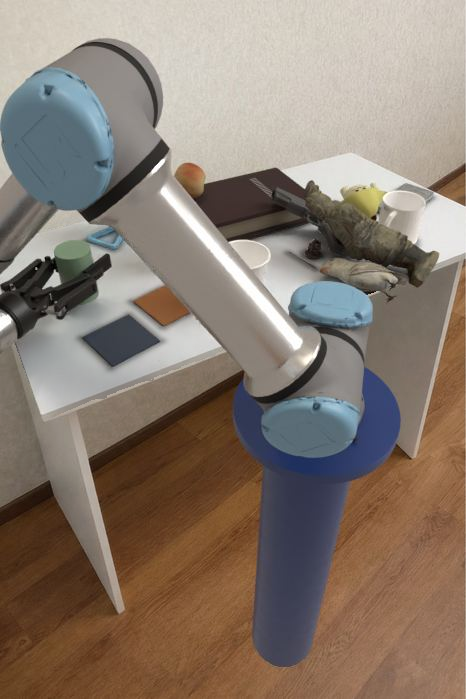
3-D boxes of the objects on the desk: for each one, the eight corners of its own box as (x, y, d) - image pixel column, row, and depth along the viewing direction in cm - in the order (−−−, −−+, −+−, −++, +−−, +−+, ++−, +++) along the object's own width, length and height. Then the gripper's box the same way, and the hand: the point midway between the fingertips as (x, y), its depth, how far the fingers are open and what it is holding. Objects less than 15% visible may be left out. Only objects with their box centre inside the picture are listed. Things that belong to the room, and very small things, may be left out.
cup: (275, 294, 116) (278, 246, 109) (256, 323, 110) (258, 274, 102) (229, 282, 119) (229, 234, 112) (208, 309, 113) (207, 261, 105)
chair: (137, 232, 134) (131, 183, 125) (114, 250, 128) (107, 199, 120) (109, 224, 136) (102, 175, 128) (86, 240, 131) (77, 191, 123)
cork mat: (205, 304, 114) (205, 303, 114) (163, 326, 109) (163, 325, 109) (174, 282, 119) (174, 280, 119) (133, 301, 114) (133, 300, 114)
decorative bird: (317, 282, 120) (334, 267, 125) (390, 308, 112) (406, 291, 117) (319, 259, 117) (337, 244, 121) (395, 284, 109) (411, 267, 114)
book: (271, 186, 150) (273, 164, 146) (314, 221, 137) (316, 198, 133) (170, 211, 140) (168, 188, 137) (205, 251, 128) (205, 227, 124)
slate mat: (160, 341, 106) (160, 340, 106) (112, 366, 101) (112, 365, 101) (128, 315, 111) (128, 314, 111) (82, 338, 106) (82, 336, 106)
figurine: (315, 268, 123) (317, 251, 120) (288, 252, 127) (289, 236, 125) (333, 259, 126) (335, 242, 123) (305, 243, 130) (307, 227, 127)
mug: (393, 223, 137) (401, 186, 131) (425, 240, 132) (434, 202, 125) (358, 240, 131) (364, 202, 125) (390, 258, 126) (398, 219, 120)
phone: (434, 196, 147) (435, 192, 146) (403, 221, 138) (404, 216, 137) (404, 187, 151) (405, 182, 150) (372, 210, 142) (373, 205, 141)
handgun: (267, 224, 122) (269, 195, 130) (346, 260, 126) (344, 230, 135) (273, 213, 120) (275, 184, 129) (354, 250, 124) (351, 220, 133)
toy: (376, 172, 142) (401, 188, 129) (379, 200, 145) (404, 217, 132) (323, 188, 142) (342, 205, 129) (327, 215, 145) (347, 234, 132)
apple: (198, 205, 128) (163, 195, 128) (201, 203, 136) (167, 193, 135) (208, 168, 126) (171, 157, 125) (210, 167, 133) (176, 157, 133)
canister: (105, 295, 111) (97, 250, 104) (75, 309, 108) (65, 263, 101) (87, 280, 115) (78, 235, 108) (58, 293, 112) (47, 248, 105)
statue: (406, 298, 124) (283, 227, 125) (428, 260, 125) (305, 190, 126) (423, 289, 113) (288, 211, 114) (447, 247, 114) (312, 170, 115)
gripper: (-33, 321, 102) (58, 257, 117) (52, 359, 95) (138, 286, 110) (-47, 286, 97) (50, 224, 112) (42, 323, 90) (133, 251, 105)
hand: (93, 254), depth 111 cm, fingers closed on canister, 6 cm apart
